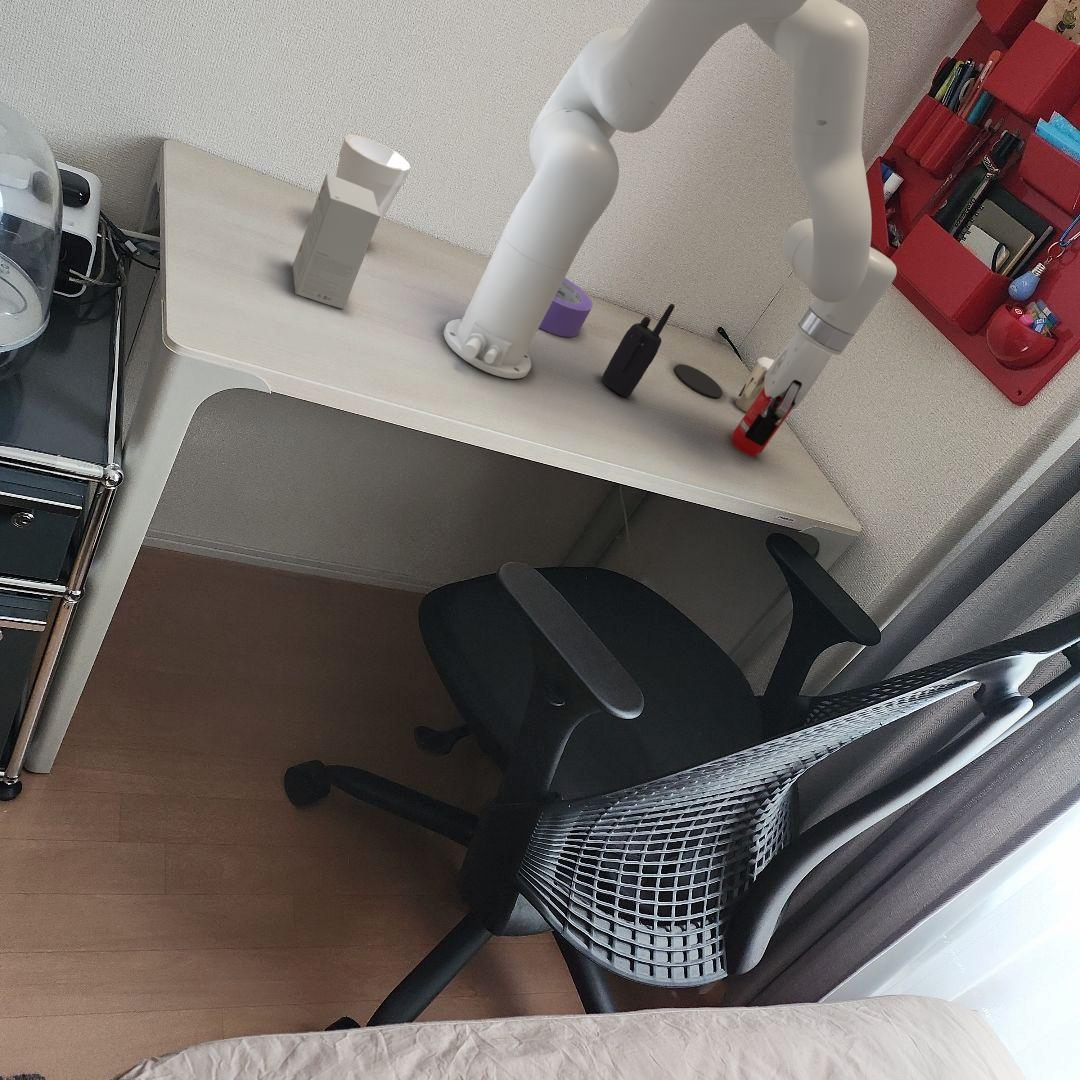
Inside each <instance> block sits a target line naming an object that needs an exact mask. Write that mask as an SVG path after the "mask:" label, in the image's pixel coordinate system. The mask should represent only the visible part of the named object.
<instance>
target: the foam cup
mask: <svg viewBox="0 0 1080 1080" xmlns="http://www.w3.org/2000/svg"><path fill="white" fill-rule="evenodd" d="M338 156H339V160H338V164H337V169H336V173H335V176H336V177H338V178H341V179H343V180H346V181H348V182H351V183H353V184H356V185H358V186H361V187H363V188H366V189H368V190H371V191H373V192H374V195H375V199H376V203H377V207H378V210H379V214H380V219H379V221H378V223H377V226H376V228H375V231H374V233H373V236H374V234H375V233H376V231H377V230H378V228H379V226H380V224H381V222H382V221H383V219H384V217H385V215H386V213H387V211H388V210H389V208H390V206H391V204H392V203H393V201H394V200H395V197H396V196H397V194H398V192H399V191H400V189H401V187H402V186H403V185H405V182H406V180H407V177H408V175H409V172H410V170H411V166H410V165H411V164H410V163H409V162H408V160H406V158H405V157H404V156H403V155H401V154H400V153H398V152H397V151H395V150H394V149H392V148H391V147H389V146H387V145H385V144H383V143H381V142H379V141H377V140H374V139H372V138H369V137H367V136H364V135H357V134H353V133H352V134H348V135H345V136H344V139H343V142H342V145H341V147H340V150H339V155H338Z"/></svg>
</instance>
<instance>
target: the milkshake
mask: <svg viewBox="0 0 1080 1080" xmlns="http://www.w3.org/2000/svg"><path fill="white" fill-rule="evenodd" d="M775 360H776V359H775ZM775 360H774V359H773V358H769V357H768V356H762V357H760V358H758V359H757V361H756V363H755V365H754V366H753V369H752V370H751V372H750V374H749V376H748V378H747V380H746V381H745V383H744V385H743V387H742V389H741V390H740V392H739V393H738V395H737V397H736V399H735V401H734V405H735V406H736V407H737V408H738V409H739V410H740V411H743V413H747V411H748V410H749V408H750V407H751V405H752V404H753V403H754V401H755V400H756V398H757V397H758V395H759V394H760V392H761V391H762V389H763V388H764V381H765V374H766V372H767V371H768V369H769V368H770V367H771V365H772V364H773V362H774V361H775Z"/></svg>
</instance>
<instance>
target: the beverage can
mask: <svg viewBox="0 0 1080 1080" xmlns="http://www.w3.org/2000/svg"><path fill="white" fill-rule="evenodd" d="M770 399H771V397H766V395H765V386H764V388H763V389H762V391H761V392H760V394H759V395H758V397H757V398H756V400H755V401H754V403H753V404H752V405H751V407H750V408H749V410H748V411H747V412H745V414H744V416H743V417H742V419H741V420H740V422H739V423H738V424H737V426H736V428H735V429H734V430H733V432H732V436H731V439H730V441H731V442H730V443H731V445H733V447H734V448H735V449H736V450H738V451H739V452H740V453H741V454H744V455H746V456H748V457H751V458H752V457H756V456H757V455H759V454H761V453H762V452H763V451H764V450H765V448H767V447H766V446H767V445H768V444H769V443H770V441H771V440H772V438H773V437H774V435H775V434H776V433H777V432H778V430H779V428H780V427H781V425H782V424H783V423H784V421H785V420H786V418H787V417H788V416H789V414H790V413H791V412H792V410H790V409H788V411H787V413H786V414H785V415H784V417H783V418H782V420H781V422H780V423H779V425H778V426H777V428H776V429H775V430H774V432H773V433H772V435H771V436H770V438H769V439H768V440H767V442H766V443H765V445H764V446H760V445H759V444H757V443H755V442H753V441H751V440H750V439H748V438H746V437H745V433H746V432H747V430H748V429H749V427H750V426H751V425H752V423H753V422H754V420H755V419H756V417H757V416H758V414H762V412H763V411H764V409H765V407H766V406H767V404H768V402H769V401H770ZM776 400H778V401H780V402H781V400H782V398H781V397H779V396H777V397H776ZM794 400H795V399H794ZM794 400H793V402H794ZM777 406H778V405H777V404H775V403H774V404H773V406H772V407H771V408H773V407H776V408H777ZM770 410H771V409H770Z"/></svg>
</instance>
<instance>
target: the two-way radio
mask: <svg viewBox="0 0 1080 1080" xmlns="http://www.w3.org/2000/svg"><path fill="white" fill-rule="evenodd" d="M675 307H676V305H675V304H674V303H669V305H668V306H667V308H666V309H665V311H664V312H663V314H662V316H661V317H660V319H659V321H658V322H657V324H656V325H655V327H654V328H653V330H652V329H651V328H649V325H650V323H651V318H650V317H649V316H644V317H643V318H642V320H641V321H640V322H638V323H633V324H632V325H631V326H630V327H629V328H628V330H626V332H625V334H624V336H623V337H622V339H621V341H620V342H619V344H618V346H617V348H616V350H615V351H614V354H612V357H611V359H609V360H610V361H609V362H608V365H607V366H606V369H605V370H604V372H603V373H602V377H601V380H602V381H603V383H604V384H605V385H606V386H607V387H609V388H610V389H611V390H612V391H614V392H615V393H617V394H618V395H619V396H621V397H630V396H631V395H632V394H633V392H634V390H635V389H636V387H637V386H638V385H639V383H640V381H641V380H642V378H643V377H644V375H645V374H646V372H647V370H648V368H649V366H650V365H651V364H652V363H653V361H654V359H655V357H656V355H657V353H658V352H659V349H660V346H661V344H662V338H661V336H660V334H661V333H662V331H663V329H664V327H665V326H666V324H667V322H668V320H669V319H670V316H671V315H672V313H673V311H674V309H675Z"/></svg>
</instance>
